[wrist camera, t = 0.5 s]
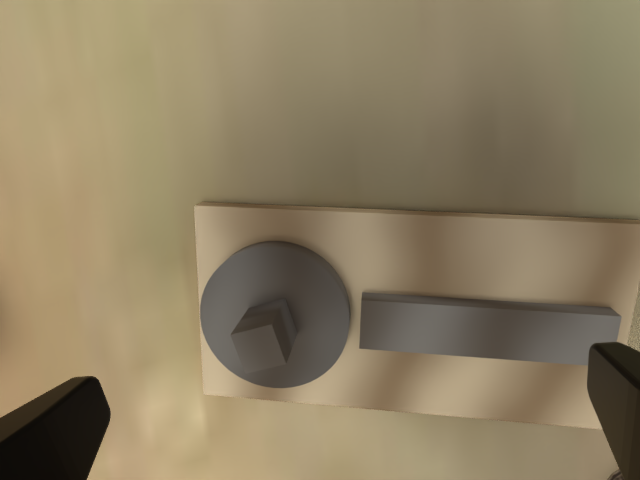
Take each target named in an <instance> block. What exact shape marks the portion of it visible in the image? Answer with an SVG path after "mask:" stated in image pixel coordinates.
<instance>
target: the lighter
mask: <svg viewBox="0 0 640 480" xmlns="http://www.w3.org/2000/svg"><path fill="white" fill-rule="evenodd" d="M608 480H624V478H623V476H622V474H621V471H620V469H619V470H618V471H616V472H615V473H613V474H612V475H611V476H610V477H609V479H608Z"/></svg>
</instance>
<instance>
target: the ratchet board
mask: <svg viewBox="0 0 640 480" xmlns="http://www.w3.org/2000/svg"><path fill="white" fill-rule="evenodd" d="M194 214H195V234H196V254H197V274H198V295H199V315H200V335H201V355H202V375H203V394H205V395H216V396H227V397H239V398H250V399H261V400H273V401H284V402H296V403H307V404H318V405H330V406H341V407H353V408H364V409H375V410H387V411H398V412H409V413H421V414H432V415H444V416H455V417H466V418H478V419H489V420H500V421H512V422H523V423H535V424H546V425H557V426H569V427H580V428H591V429H602V426H601V424H600V422H599V419H598V417H597V415H596V412H595V410H594V408H593V405H592V403H591V400H590V398H589V395H588V390H587V373H588V357H589V349H590V347H591V345H593V344H594V343H603V342H620V343H622V344H625V345H627V343H628V338H629V333H630V328H631V324H632V319H633V314H634V309H635V304H636V299H637V294H638V289H639V284H640V220H629V219H605V218H580V217H556V216H532V215H507V214H483V213H459V212H434V211H410V210H386V209H361V208H337V207H313V206H288V205H264V204H240V203H215V202H201V203H199V204H196V205H194Z"/></svg>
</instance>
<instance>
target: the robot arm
mask: <svg viewBox="0 0 640 480" xmlns="http://www.w3.org/2000/svg"><path fill="white" fill-rule="evenodd" d="M587 390H588V395H589V398H590V400H591V403H592V405H593V408H594V410H595V412H596V415H597V417H598V419H599V422H600V424H601V426H602V429H603V431H604V434H605V436H606V438H607V441H608V443H609V445H610V448H611V450H612V452H613V455H614V457H615V460H616V462H617V464H618V467H619V469H620V471H621V474H622V476H623V478H624V480H640V352H639V351H637V350H635V349H633V348H631V347H629V346H627V345H625V344H622V343H620V342H603V343H594V344H593V345H591V347H590V349H589V357H588V373H587ZM110 414H111V413H110V408H109V405H108V402H107V400H106V397H105V395H104V392H103V390H102V387H101V384H100V382H99V380H98V379H97V378H96V377H93V376H84V377H74V378H72V379H70V380H68V381H66V382H64V383H62V384H61V385H59V386H57V387H55V388H53V389H52V390H50V391H48V392H46V393H44V394H43V395H41V396H39V397H37V398H35V399H34V400H32V401H30V402H28V403H26V404H24V405H23V406H21V407H19V408H17V409H15V410H14V411H12V412H10V413H8V414H6V415H5V416H3V417H1V418H0V480H87V478H88V475H89V473H90V470H91V467H92V465H93V462H94V460H95V457H96V455H97V452H98V450H99V447H100V445H101V442H102V440H103V437H104V435H105V432H106V430H107V427H108V425H109V422H110Z"/></svg>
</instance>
